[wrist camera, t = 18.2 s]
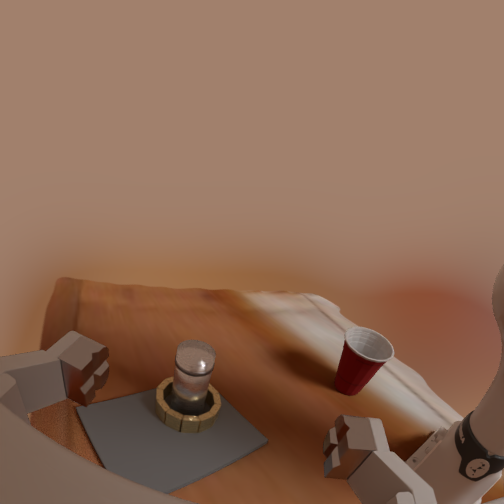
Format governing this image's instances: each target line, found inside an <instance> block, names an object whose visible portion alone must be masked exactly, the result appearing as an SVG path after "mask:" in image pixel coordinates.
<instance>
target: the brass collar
mask: <svg viewBox="0 0 504 504" xmlns="http://www.w3.org/2000/svg"><path fill="white" fill-rule="evenodd" d="M173 378H174V377H170V378H166V380H165V379H164V381H163V382H162V383H161V384H160V385H159V386H158V387H157V390H156V406H155V412H156V414H157V415H158V417H159V418H160V420H161V421H162V422H163V424H165V425H166V426H168V427H170V428H172V429H174V430H176V431H178V432H180V430H181V433H197V432H198V433H200V432H202V431H205V430H207V429H209V428H211V427H212V426H213V424H214V423H215V421H216V420H217V418H218V415H219V411H220V408H221V400H220V395H219V394H218V393H219V392H218V391H217V390H216V389H215V388H214V387H213V386H212V385H211V384H210V383H209V386H208V391H207V395H206V400H205V402H206V403H207V404H208V405H209V406H210V411H209V412H207V413H204V414H202V415H199V416H189V415H182V414H180V413H178V412H176V411H174V410H172V409H170V407H169V406H168V405H167V403H166V402H165V401H164V400H165V399H166V397H167V396H168V395H171V394H172V386H173Z"/></svg>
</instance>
